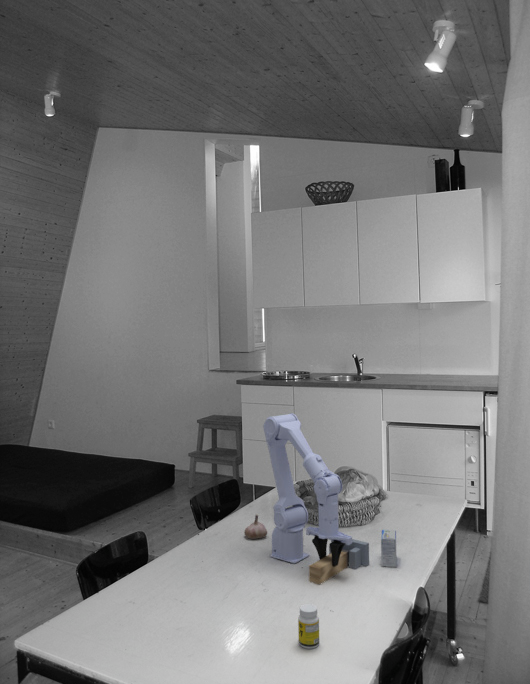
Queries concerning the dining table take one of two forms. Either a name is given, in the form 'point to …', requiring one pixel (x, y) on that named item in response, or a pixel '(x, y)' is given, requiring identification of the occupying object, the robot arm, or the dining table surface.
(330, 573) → the rail
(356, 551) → the grey stepped block
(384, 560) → the medicine box
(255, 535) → the garlic bulb
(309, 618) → the supplement bottle
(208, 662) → the dining table surface
